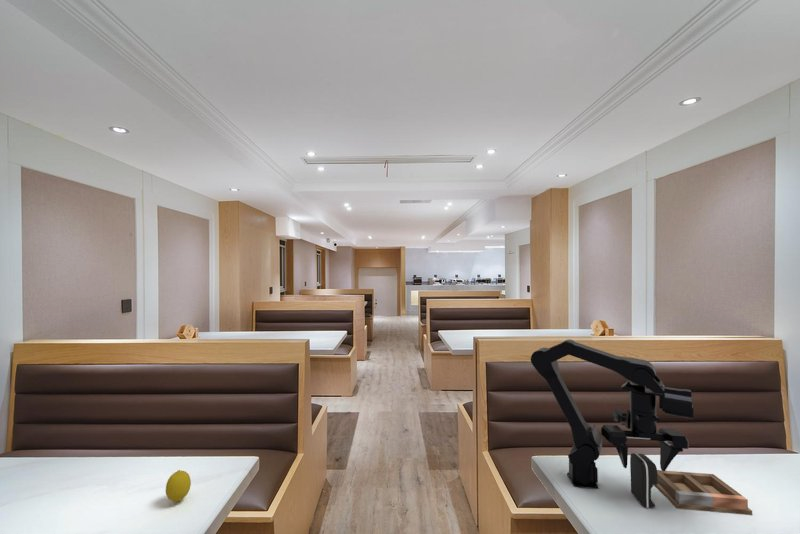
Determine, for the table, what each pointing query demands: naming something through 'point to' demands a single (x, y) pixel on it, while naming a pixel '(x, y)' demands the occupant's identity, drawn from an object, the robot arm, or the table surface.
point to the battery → (642, 478)
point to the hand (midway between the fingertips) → (643, 468)
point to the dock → (700, 492)
